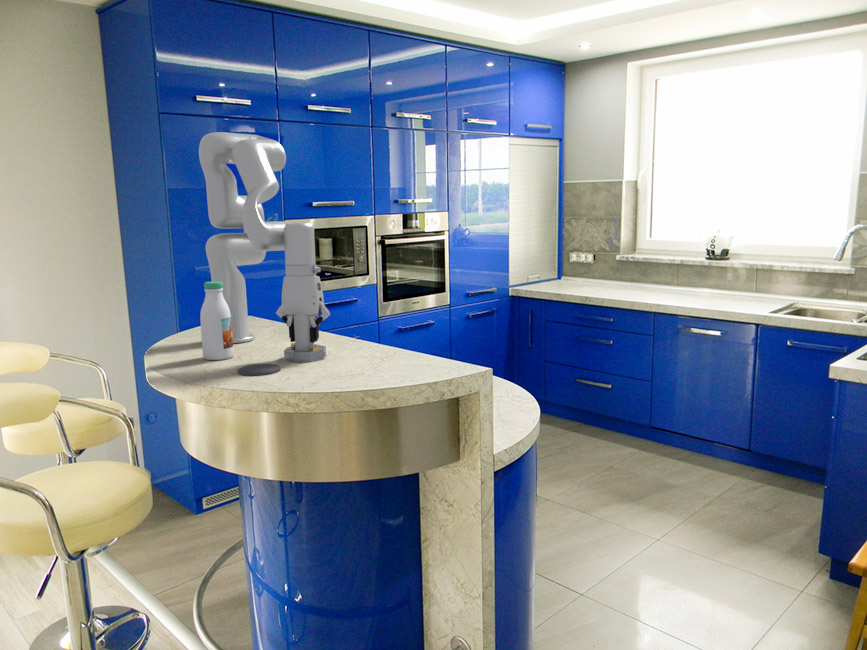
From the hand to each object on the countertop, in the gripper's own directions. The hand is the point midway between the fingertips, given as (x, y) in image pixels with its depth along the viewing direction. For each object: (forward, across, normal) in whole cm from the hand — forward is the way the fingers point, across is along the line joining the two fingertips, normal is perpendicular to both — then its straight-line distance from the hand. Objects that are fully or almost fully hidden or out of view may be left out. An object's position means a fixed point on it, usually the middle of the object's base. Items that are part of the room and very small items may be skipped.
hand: (304, 340), depth 177 cm
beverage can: (+5, 0, 0) cm, 5 cm away
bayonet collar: (+4, 0, 0) cm, 4 cm away
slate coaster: (+4, +5, +16) cm, 17 cm away
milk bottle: (+5, +23, +4) cm, 24 cm away
